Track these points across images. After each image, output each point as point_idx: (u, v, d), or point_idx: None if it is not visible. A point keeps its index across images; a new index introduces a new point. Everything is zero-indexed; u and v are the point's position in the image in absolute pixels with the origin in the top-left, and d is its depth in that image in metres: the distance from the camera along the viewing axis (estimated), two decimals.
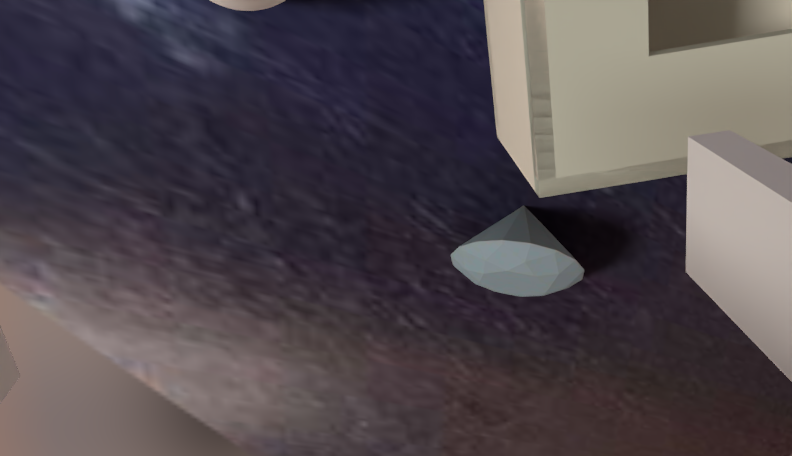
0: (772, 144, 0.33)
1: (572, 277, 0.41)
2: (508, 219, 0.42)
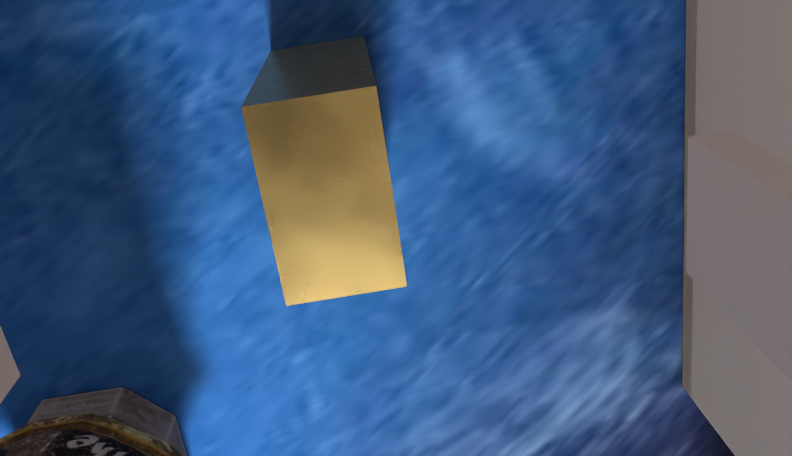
0: None
1: None
2: None
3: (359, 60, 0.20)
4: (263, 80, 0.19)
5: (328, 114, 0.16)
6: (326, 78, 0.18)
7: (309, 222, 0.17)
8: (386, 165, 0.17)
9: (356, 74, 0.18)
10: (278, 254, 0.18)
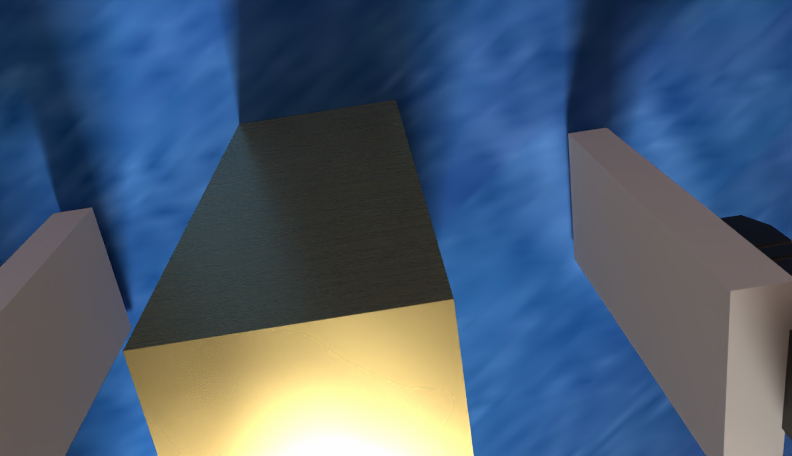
0: None
1: None
2: None
3: (397, 176, 0.10)
4: (203, 225, 0.09)
5: (336, 362, 0.07)
6: (332, 240, 0.08)
7: None
8: None
9: (397, 234, 0.08)
10: None
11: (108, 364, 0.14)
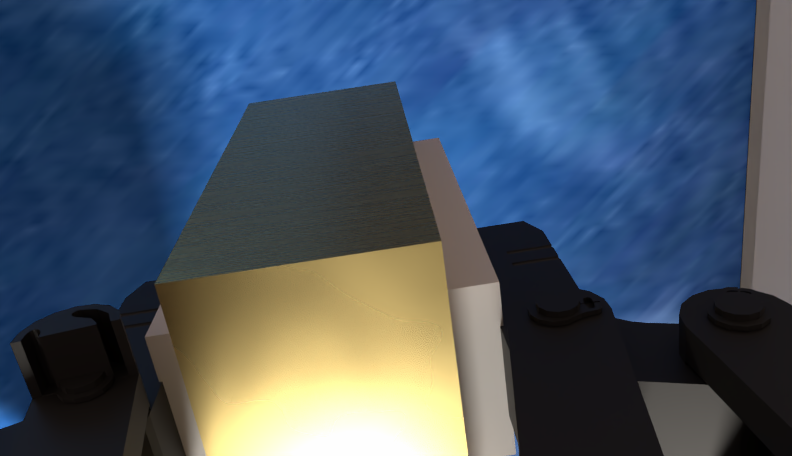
0: None
1: None
2: None
3: (395, 146, 0.11)
4: (220, 187, 0.10)
5: (339, 296, 0.08)
6: (335, 197, 0.09)
7: None
8: (455, 389, 0.08)
9: (394, 192, 0.09)
10: None
11: None
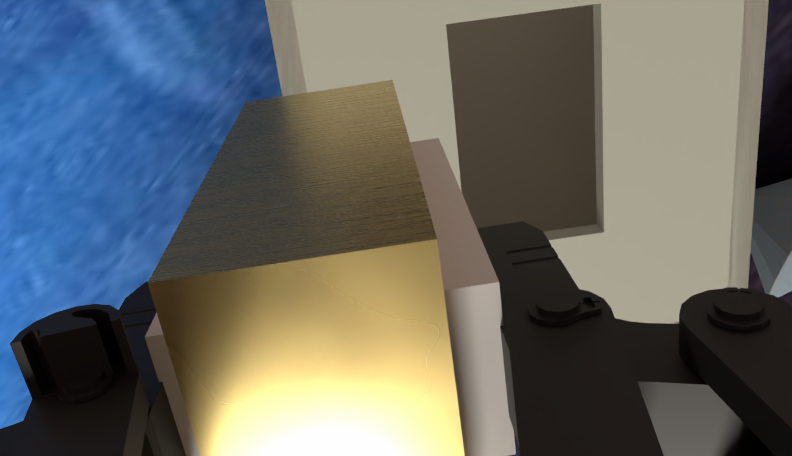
0: (742, 62, 0.25)
1: None
2: None
3: (391, 143, 0.11)
4: (215, 186, 0.10)
5: (333, 295, 0.08)
6: (331, 195, 0.09)
7: None
8: (451, 388, 0.08)
9: (389, 189, 0.09)
10: None
11: None
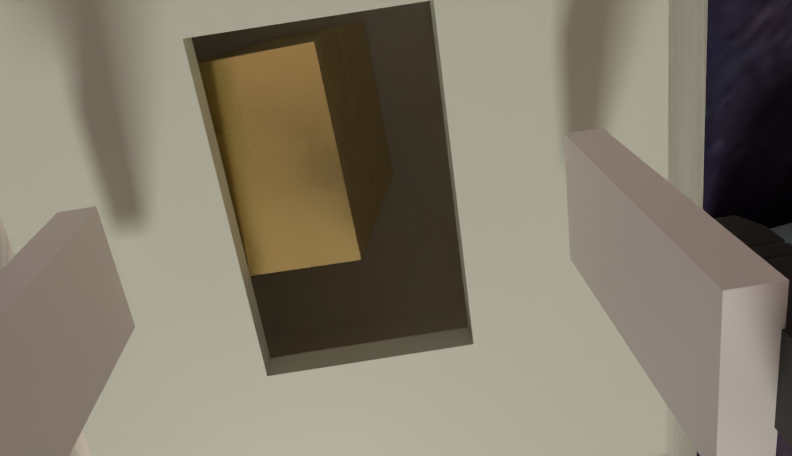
0: (671, 88, 0.16)
1: None
2: None
3: (330, 32, 0.19)
4: (230, 52, 0.19)
5: (267, 72, 0.16)
6: (282, 44, 0.17)
7: (256, 187, 0.17)
8: (330, 127, 0.16)
9: (310, 38, 0.17)
10: None
11: (112, 362, 0.14)
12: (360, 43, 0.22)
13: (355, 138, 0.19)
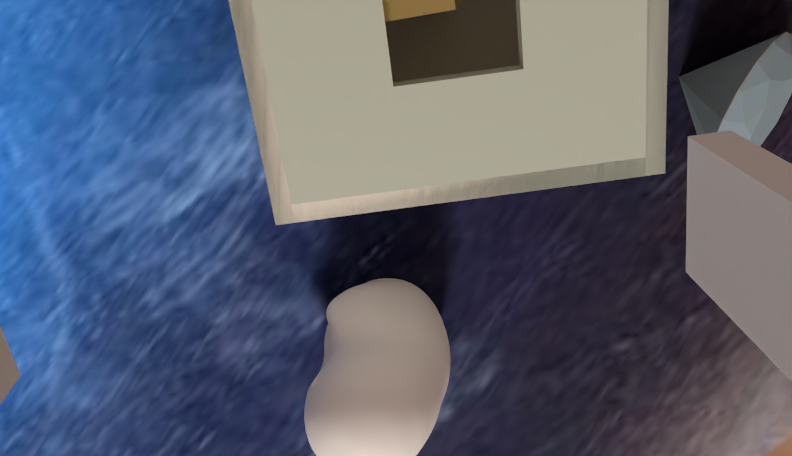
0: None
1: (780, 54, 0.34)
2: (691, 110, 0.37)
3: None
4: None
5: None
6: None
7: None
8: None
9: None
10: None
11: None
12: None
13: None
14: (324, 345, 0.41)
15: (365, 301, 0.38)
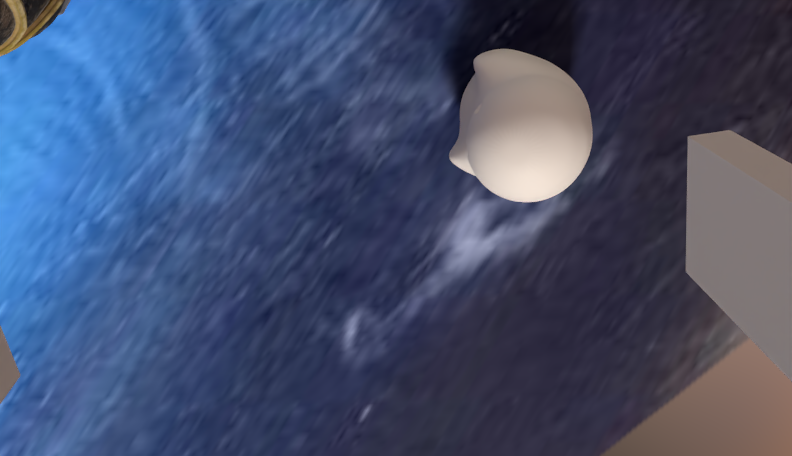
0: None
1: None
2: None
3: None
4: None
5: None
6: None
7: None
8: None
9: None
10: None
11: None
12: None
13: None
14: (462, 112, 0.42)
15: (510, 53, 0.40)
